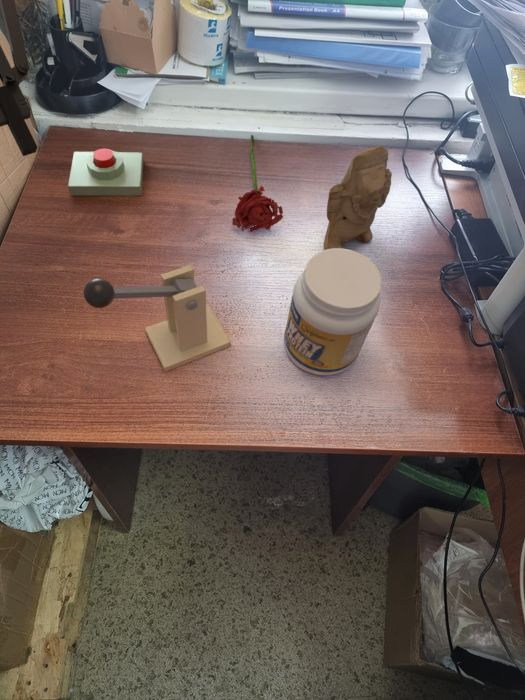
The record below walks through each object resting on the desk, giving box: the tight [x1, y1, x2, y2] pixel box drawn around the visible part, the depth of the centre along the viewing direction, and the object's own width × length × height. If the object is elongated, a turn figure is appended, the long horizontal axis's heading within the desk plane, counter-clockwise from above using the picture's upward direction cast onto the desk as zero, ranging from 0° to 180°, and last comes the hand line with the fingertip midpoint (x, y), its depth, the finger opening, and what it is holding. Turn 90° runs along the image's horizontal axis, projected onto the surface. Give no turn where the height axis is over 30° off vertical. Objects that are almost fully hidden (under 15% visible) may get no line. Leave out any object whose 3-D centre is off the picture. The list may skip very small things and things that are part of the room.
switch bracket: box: [144, 264, 232, 373], centre depth 74 cm, size 11×8×14 cm
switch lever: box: [83, 278, 198, 309], centre depth 66 cm, size 15×4×4 cm, turn 118°
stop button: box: [93, 147, 115, 168], centre depth 94 cm, size 4×4×2 cm
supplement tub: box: [283, 247, 382, 376], centre depth 74 cm, size 12×12×17 cm
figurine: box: [323, 145, 393, 250], centre depth 85 cm, size 13×7×20 cm, turn 118°
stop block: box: [67, 149, 144, 197], centre depth 96 cm, size 13×10×4 cm
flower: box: [231, 134, 284, 233], centre depth 99 cm, size 9×10×30 cm
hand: (30, 151), depth 56 cm, fingers closed
